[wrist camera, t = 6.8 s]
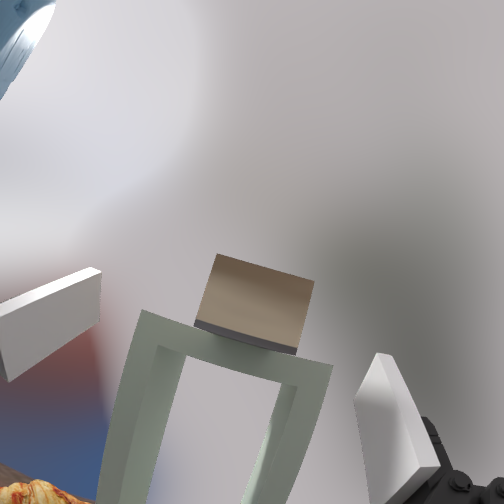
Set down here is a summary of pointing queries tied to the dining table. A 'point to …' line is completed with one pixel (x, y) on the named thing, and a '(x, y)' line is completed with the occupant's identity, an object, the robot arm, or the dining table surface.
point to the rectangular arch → (161, 398)
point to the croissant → (35, 494)
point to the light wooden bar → (254, 305)
